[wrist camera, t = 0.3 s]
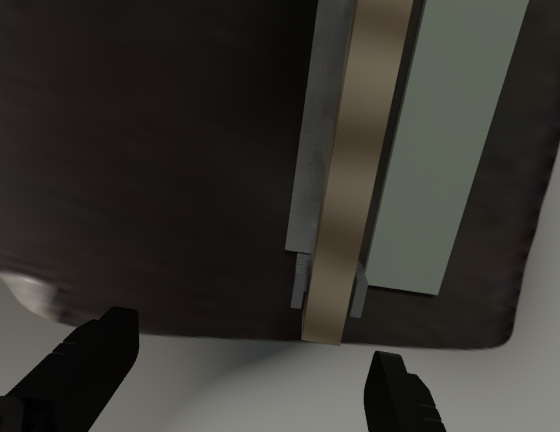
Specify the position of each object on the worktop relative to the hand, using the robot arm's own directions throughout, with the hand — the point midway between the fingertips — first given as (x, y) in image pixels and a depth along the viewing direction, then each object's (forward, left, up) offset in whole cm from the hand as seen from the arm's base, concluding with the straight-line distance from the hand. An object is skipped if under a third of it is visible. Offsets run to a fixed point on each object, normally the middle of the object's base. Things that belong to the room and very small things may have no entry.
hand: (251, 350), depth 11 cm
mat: (-7, +15, -28) cm, 32 cm away
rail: (-7, +4, -15) cm, 17 cm away
